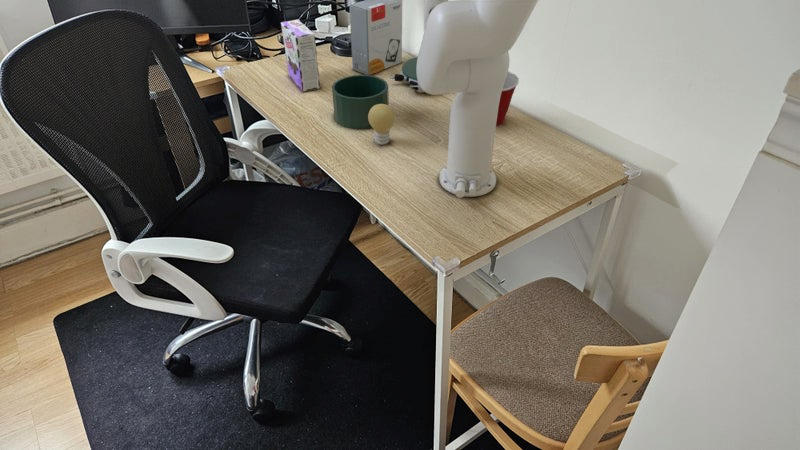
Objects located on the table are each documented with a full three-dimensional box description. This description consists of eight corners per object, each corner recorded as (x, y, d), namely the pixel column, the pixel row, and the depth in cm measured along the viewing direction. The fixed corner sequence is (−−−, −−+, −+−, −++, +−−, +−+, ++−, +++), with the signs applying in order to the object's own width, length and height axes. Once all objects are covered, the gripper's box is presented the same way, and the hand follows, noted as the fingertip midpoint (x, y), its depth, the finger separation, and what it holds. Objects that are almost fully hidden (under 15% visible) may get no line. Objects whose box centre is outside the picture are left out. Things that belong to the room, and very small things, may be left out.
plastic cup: (463, 121, 137) (466, 78, 129) (488, 107, 143) (492, 66, 135) (496, 135, 131) (502, 91, 124) (521, 120, 137) (527, 77, 129)
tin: (383, 130, 133) (382, 100, 128) (328, 126, 135) (325, 96, 130) (392, 105, 144) (392, 76, 139) (341, 102, 146) (339, 73, 141)
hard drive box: (368, 76, 160) (365, 10, 147) (351, 70, 164) (347, 4, 151) (403, 62, 168) (402, -2, 156) (386, 56, 172) (384, -7, 160)
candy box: (287, 75, 161) (279, 21, 150) (305, 71, 163) (299, 18, 152) (302, 92, 151) (294, 36, 141) (321, 88, 153) (315, 32, 143)
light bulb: (391, 150, 126) (391, 112, 120) (366, 147, 127) (364, 110, 121) (397, 137, 131) (396, 100, 125) (372, 134, 132) (371, 98, 126)
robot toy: (387, 86, 156) (420, 99, 146) (386, 71, 153) (420, 84, 144) (418, 75, 162) (451, 87, 153) (417, 61, 159) (451, 72, 150)
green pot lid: (462, 87, 122) (464, 62, 118) (397, 83, 124) (397, 58, 120) (466, 61, 134) (467, 38, 130) (406, 58, 136) (406, 34, 132)
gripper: (450, -1, 110) (445, 81, 122) (455, -21, 122) (450, 55, 134) (415, -2, 111) (414, 79, 123) (424, -23, 123) (422, 53, 135)
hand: (433, 66), depth 128 cm, fingers closed on green pot lid, 2 cm apart
